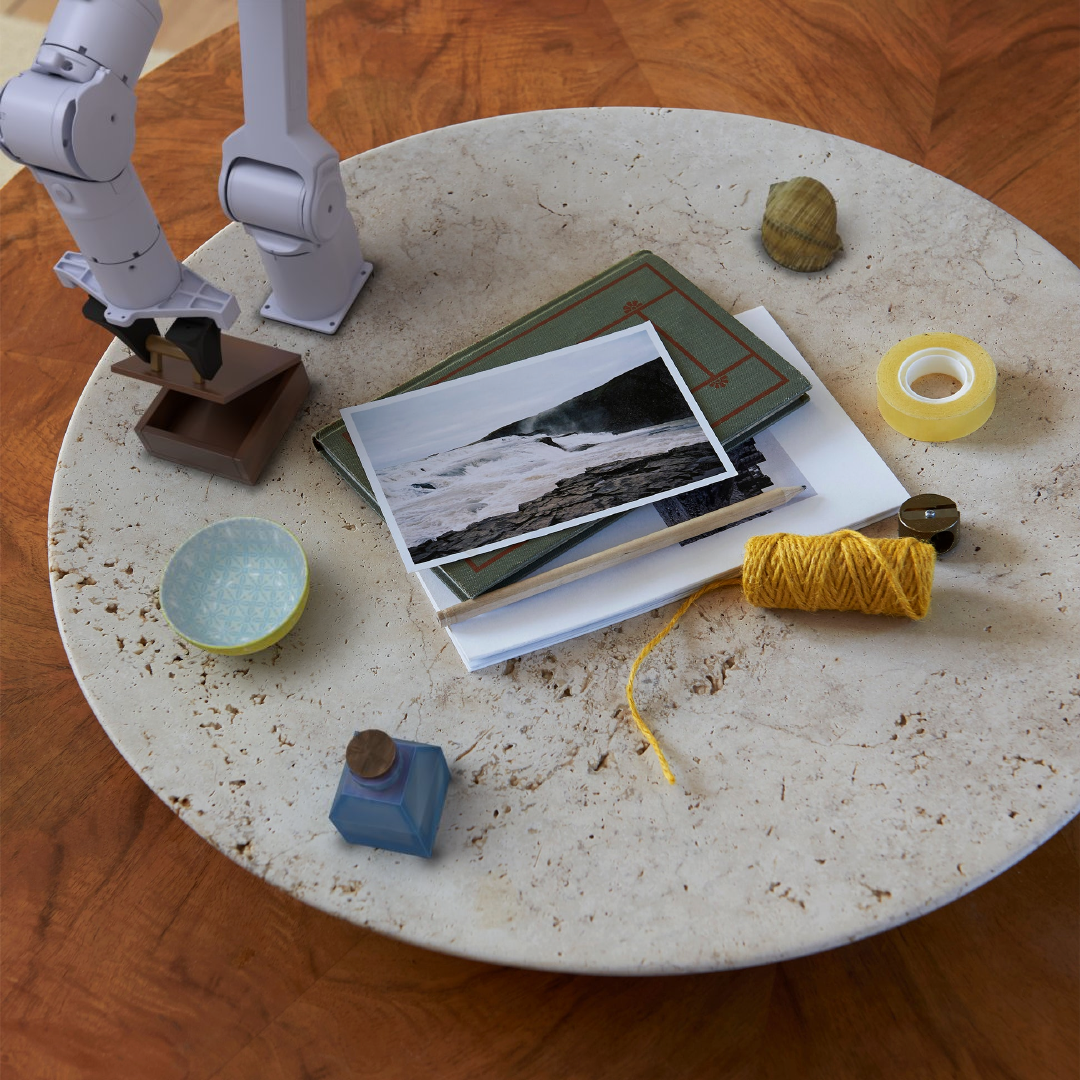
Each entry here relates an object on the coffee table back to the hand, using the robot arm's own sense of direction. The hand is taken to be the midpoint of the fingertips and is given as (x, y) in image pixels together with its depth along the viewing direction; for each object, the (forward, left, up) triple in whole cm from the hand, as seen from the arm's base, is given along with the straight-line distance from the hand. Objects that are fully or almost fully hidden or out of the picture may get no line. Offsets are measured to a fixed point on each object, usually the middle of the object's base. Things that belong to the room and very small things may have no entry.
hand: (183, 362), depth 85 cm
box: (-2, 0, -10) cm, 10 cm away
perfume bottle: (+25, +29, -10) cm, 40 cm away
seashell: (-40, +44, -10) cm, 60 cm away
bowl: (+15, +12, -10) cm, 22 cm away
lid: (-2, 0, -3) cm, 4 cm away
